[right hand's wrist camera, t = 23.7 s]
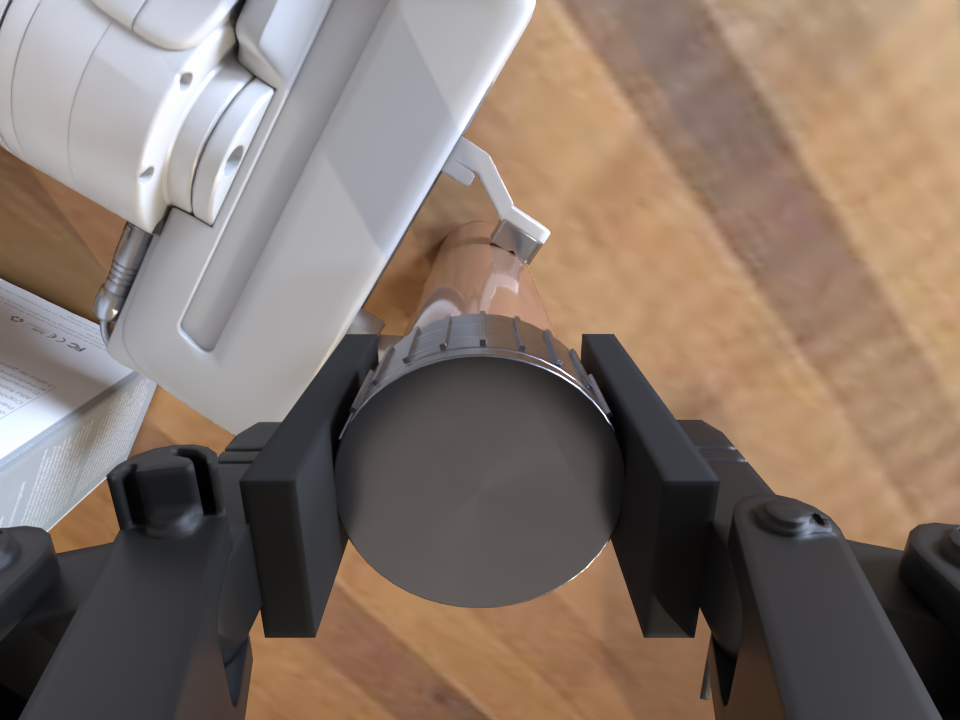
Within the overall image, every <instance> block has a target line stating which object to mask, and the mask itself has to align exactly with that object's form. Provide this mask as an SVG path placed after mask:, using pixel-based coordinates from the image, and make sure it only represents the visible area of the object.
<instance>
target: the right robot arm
mask: <svg viewBox="0 0 960 720" xmlns="http://www.w3.org/2000/svg"><path fill="white" fill-rule="evenodd" d="M581 363H582V365H583V367H584V369H585V371H586V373H587V374H588V375H590V374H592V375H593V377H594V379H595V381H596V383H597V385H598V387H599V389H600V391H601V393H602V395H603V397H604V399H605V401H606V403H607V405H608V407H609V409H610V411H611V413H612V415H613V417H611V418H609V420H610V422H611V424H612V426H613V428H614V430H615V432H616V435H617V437H618V439H619V442H620V444H621V448H622V452H623V455H624V459H625V467H626V474H625V486H624V496H623V505H622V513H621V516H620V519H619V522H618V524H617V527H616V529H615V531H614V533H613V535H612V536H611V541H612V544H613V546H614V549H615V552H616V555H617V558H618V561H619V564H620V567H621V570H622V573H623V576H624V579H625V582H626V585H627V588H628V591H629V594H630V597H631V600H632V603H633V606H634V609H635V612H636V615H637V618H638V621H639V624H640V627H641V630H642V633H643V636H644V638H694V637H695V631H696V625H697V619H698V613H699V607H700V609H701V611H702V613H703V615H704V617H705V619H706V621H707V623H708V625H709V627H710V630H711V637H710V643H709V648H708V654H707V660H706V665H705V671H704V676H703V682H702V688H701V695H700V699H705V700H708V699H709V693H710V688H711V690H712V697H713V705H714V712H715V719H716V720H960V525H951V524H942V523H929V524H922V525H918V526H917V527H915V528H914V529H913V530H911V531H910V533H909V537H908V540H907V543H906V546H905V549H904V551H901V550H896V549H891V548H886V547H881V546H875V545H870V544H865V543H860V542H855V541H851V540H847V539H845V537H844V535H843V533H842V532H841V530H840V528H839V527H838V526H837V525H836V524H835V522H834V521H833V520H832V519H831V518H830V517H829V516H827V515H826V514H824V513H823V512H821V511H820V510H818V509H817V508H815V507H813V506H811V505H809V504H806V503H804V502H801V501H799V500H796V499H793V498H788V497H784V496H779V495H775V493H774V492H773V491H772V490H771V489H770V488H769V486H768V485H767V484H766V483H765V482H764V481H763V479H762V478H761V477H760V476H759V475H758V474H757V472H756V471H755V470H754V469H753V468H752V467H751V465H750V464H749V463H748V462H745V458H744V457H743V456H742V455H741V454H740V453H739V451H738V450H735V449H734V446H733V444H732V443H731V442H730V441H729V440H728V439H727V437H726V436H725V435H724V434H723V433H722V432H721V431H719V430H717V429H716V428H714V427H712V426H710V425H709V424H707V423H705V422H703V421H702V420H676V419H675V418H674V417H673V415H672V414H671V412H670V411H669V410H668V408H667V407H666V406H665V404H664V403H663V401H662V400H661V399H660V397H659V396H658V395H657V393H656V392H655V390H654V389H653V388H652V386H651V385H650V383H649V382H648V381H647V379H646V378H645V377H644V375H643V374H642V372H641V371H640V370H639V368H638V367H637V366H636V364H635V363H634V361H633V360H632V359H631V357H630V356H629V355H628V353H627V352H626V350H625V349H624V348H623V346H622V345H621V344H620V342H619V341H618V339H617V338H616V337H615V335H614V334H582V348H581ZM378 364H379V357H378V342H377V334H345V336H344V337H343V339H342V340H341V341H340V343H339V344H338V345H337V347H336V348H335V350H334V351H333V352H332V354H331V355H330V356H329V358H328V359H327V361H326V362H325V363H324V365H323V366H322V367H321V369H320V370H319V372H318V373H317V374H316V376H315V377H314V378H313V380H312V381H311V383H310V384H309V385H308V387H307V388H306V389H305V391H304V392H303V394H302V395H301V396H300V398H299V399H298V401H297V402H296V403H295V405H294V406H293V407H292V409H291V410H290V412H289V413H288V414H287V416H286V417H285V418H284V420H283V421H282V422H258V423H256V424H254V425H253V426H251V427H249V428H248V429H246V430H244V431H242V432H241V433H239V434H237V436H236V437H235V438H234V439H233V440H232V441H231V443H230V444H229V445H228V446H227V447H226V448H225V452H222V453H221V454H220V456H219V457H218V458H217V454H216V453H215V452H214V451H212V450H211V449H210V448H208V447H203V446H199V445H172V446H167V447H161V448H156V449H152V450H149V451H146V452H144V453H141V454H138V455H135V456H133V457H131V458H129V459H127V460H125V461H124V462H122V463H120V464H118V465H117V466H116V467H114V468H113V469H112V470H111V471H110V472H109V473H108V474H107V475H106V477H107V480H108V484H109V488H110V492H111V496H112V500H113V504H114V507H115V511H116V515H117V519H118V523H119V527H120V531H119V533H118V534H117V536H116V538H115V540H114V542H111V543H108V544H104V545H98V546H93V547H88V548H83V549H78V550H73V551H67V552H62V553H57V554H56V552H55V549H54V546H53V542H52V539H51V536H50V534H49V533H47V532H46V531H45V530H44V529H42V528H39V527H32V526H17V527H8V528H0V720H245V713H246V706H247V699H248V691H249V684H250V677H251V670H252V663H253V657H252V649H251V643H250V637H249V631H250V629H251V627H252V625H253V623H254V621H255V619H256V617H257V615H258V612H259V610H261V616H262V622H263V628H264V634H265V638H315V637H316V634H317V631H318V628H319V625H320V622H321V619H322V616H323V613H324V610H325V607H326V604H327V601H328V598H329V595H330V592H331V589H332V586H333V583H334V580H335V577H336V574H337V571H338V568H339V565H340V563H341V560H342V557H343V554H344V551H345V548H346V545H347V542H348V539H349V538H348V536H347V534H346V532H345V530H344V528H343V526H342V524H341V521H340V518H339V515H338V511H337V502H336V493H335V482H334V462H335V456H336V452H337V449H338V446H339V437H340V435H341V433H342V430H343V428H344V426H345V424H346V422H347V420H348V418H349V416H350V414H351V412H350V411H349V410H350V408H351V406H352V404H353V402H354V400H355V398H356V396H357V394H358V392H359V390H360V388H361V386H362V384H363V382H364V380H365V378H366V376H367V374H368V372H369V370H370V369H371V370H373V371H374V370H375V368H376V367H377V365H378Z"/></svg>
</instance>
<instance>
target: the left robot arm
mask: <svg viewBox="0 0 960 720" xmlns="http://www.w3.org/2000/svg"><path fill="white" fill-rule="evenodd" d="M535 5H536V0H0V146H2V147H3V148H4V149H6V150H7V151H9V152H10V153H11V154H13V155H14V156H16V157H17V158H19V159H20V160H22V161H24V162H26V163H27V164H29V165H31V166H33V167H34V168H36V169H38V170H40V171H41V172H43V173H45V174H47V175H48V176H50V177H52V178H53V179H55V180H57V181H59V182H60V183H62V184H64V185H66V186H67V187H69V188H71V189H73V190H74V191H76V192H78V193H80V194H81V195H83V196H85V197H87V198H88V199H90V200H92V201H94V202H96V203H97V204H99V205H101V206H102V207H104V208H106V209H108V210H109V211H111V212H113V213H115V214H116V215H118V216H120V217H122V218H123V219H125V220H127V222H126V224H125V227H124V229H123V232H122V235H121V237H120V240H119V242H118V245H117V247H116V250H115V253H114V256H113V260H112V265H111V269H110V271H109V274H108V277H107V279H106V281H105V283H103V284H102V285H101V287H100V289H99V291H98V293H97V295H96V298H95V302H94V308H93V313H94V315H95V316H96V317H97V318H98V319H100V324H99V326H100V333H101V336H102V339H103V341H104V343H105V345H106V350H107V352H108V354H109V355H110V356H111V357H112V358H113V359H115V360H116V361H117V362H119V363H120V364H122V365H124V366H126V367H128V368H129V369H131V370H133V371H135V372H137V373H139V374H141V375H143V376H145V377H147V378H149V379H151V380H153V381H154V382H156V383H157V384H158V385H159V386H161V387H162V388H164V389H165V390H166V391H168V392H169V393H170V394H172V395H173V396H174V397H176V398H177V399H179V400H180V401H181V402H183V403H184V404H186V405H187V406H189V407H190V408H192V409H193V410H195V411H196V412H198V413H199V414H201V415H202V416H204V417H205V418H207V419H208V420H210V421H212V422H213V423H215V424H216V425H218V426H220V427H221V428H223V429H225V430H226V431H228V432H230V433H231V434H233V435H235V436H237V434H239V433H241V432H242V431H244V430H246V429H248V428H249V427H251V426H253V425H254V424H256V423H258V422H282V421H283V420H284V418H285V417H286V416H287V414H288V413H289V412H290V410H291V409H292V407H293V406H294V405H295V403H296V402H297V401H298V399H299V398H300V396H301V395H302V394H303V392H304V391H305V389H306V388H307V387H308V385H309V384H310V383H311V381H312V380H313V378H314V377H315V376H316V374H317V373H318V372H319V370H320V369H321V367H322V366H323V365H324V363H325V362H326V361H327V359H328V358H329V356H330V355H331V354H332V352H333V351H334V350H335V348H336V347H337V345H338V344H339V343H340V341H341V340H342V339H343V337H344V336H345V334H377V342H378V357H379V363H380V361H381V360H382V358H383V356H384V353H385V351H386V349H387V347H389V346H390V345H391V346H393V347H394V346H395V345H396V344H397V343H398V342H400V341H401V340H402V338H403V336H394V335H380V333H381V331H382V329H383V327H384V326H385V324H384V321H382V320H380V319H379V318H377V317H375V316H374V315H372V314H370V313H369V312H367V311H365V310H364V309H363V307H364V306H365V304H366V302H367V301H368V299H369V297H370V295H371V294H372V292H373V290H374V289H375V287H376V285H377V283H378V282H379V280H380V278H381V277H382V275H383V273H384V271H385V270H386V268H387V266H388V264H389V263H390V261H391V259H392V258H393V256H394V254H395V252H396V251H397V249H398V247H399V246H400V244H401V242H402V240H403V239H404V237H405V235H406V233H407V232H408V230H409V228H410V227H411V225H412V223H413V221H414V220H415V218H416V216H417V215H418V213H419V211H420V209H421V208H422V206H423V204H424V203H425V201H426V199H427V197H428V196H429V194H430V192H431V190H432V189H433V187H434V185H435V184H436V182H437V180H438V178H439V177H440V175H441V173H442V172H443V173H445V174H447V175H448V176H450V177H451V178H453V179H454V180H456V181H457V182H459V183H461V184H462V185H464V186H465V187H466V186H469V185H470V184H471V182H472V181H473V179H474V177H475V173H476V174H478V176H479V178H480V180H481V182H482V184H483V186H484V188H485V190H486V192H487V194H488V196H489V198H490V200H491V202H492V204H493V206H494V208H495V210H496V212H497V214H498V216H499V218H500V220H499V222H498V223H497V225H496V227H495V228H494V230H493V232H492V233H491V235H490V236H491V242H493V243H494V244H496V245H497V246H499V247H501V248H502V249H504V250H506V251H513V252H514V254H515V256H516V257H517V258H518V259H519V260H521V261H522V262H524V263H526V264H528V265H529V264H530V263H531V261H532V260H533V258H534V257H535V256H536V254H537V253H538V251H539V250H540V248H541V247H542V245H543V244H544V242H545V241H546V239H547V238H548V236H549V235H550V231H549V230H548V229H547V228H545V227H544V226H543V225H541V224H540V223H539V222H537V221H536V220H534V219H533V218H531V217H530V216H528V215H527V214H525V213H524V212H522V211H521V210H519V209H518V208H516V207H515V206H513V205H514V204H513V202H512V200H511V198H510V196H509V194H508V192H507V190H506V188H505V186H504V184H503V182H502V180H501V178H500V175H499V173H498V171H497V169H496V167H495V165H494V163H493V161H492V159H491V157H490V155H489V154H488V153H486V152H485V151H483V150H482V149H480V148H479V147H477V146H476V145H474V144H473V143H472V142H470V141H469V140H467V139H466V138H464V137H463V135H464V134H465V132H466V130H467V129H468V127H469V125H470V123H471V122H472V120H473V118H474V116H475V115H476V113H477V111H478V110H479V108H480V106H481V104H482V103H483V101H484V99H485V98H486V96H487V94H488V92H489V91H490V89H491V87H492V85H493V84H494V82H495V80H496V79H497V77H498V75H499V73H500V72H501V70H502V68H503V67H504V65H505V63H506V61H507V60H508V58H509V56H510V55H511V53H512V51H513V49H514V48H515V46H516V44H517V42H518V41H519V39H520V37H521V36H522V34H523V32H524V30H525V29H526V27H527V25H528V23H529V21H530V19H531V17H532V15H533V12H534V8H535ZM113 322H116V324H115V327H114V329H113V331H112V329H111V323H113Z"/></svg>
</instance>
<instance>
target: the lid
mask: <svg viewBox="0 0 960 720" xmlns="http://www.w3.org/2000/svg"><path fill="white" fill-rule="evenodd" d="M349 411H350V412H351V414H350V416H349V418H348V420H347V422H346V424H345V426H344V428H343V430H342V433H341V435H340V437H339V446H338V449H337V452H336V456H335V462H334V482H335V493H336V502H337V511H338V515H339V518H340V521H341V524H342V526H343V528H344V530H345V532H346V534H347V536H348V538H349V539H350V541H351V542H352V544H353V546H354V547H355V549H356V550H357V551H358V553H359V554H360V555H361V556H362V557H363V558H364V559H365V561H366V562H367V563H368V564H369V565H370V566H371V567H373V568H374V569H375V570H376V571H377V572H378V573H379V574H380V575H382V576H383V577H385V578H386V579H387V580H389V581H390V582H392V583H393V584H395V585H396V586H398V587H400V588H402V589H404V590H406V591H408V592H409V593H412V594H414V595H417V596H419V597H422V598H424V599H427V600H431V601H434V602H438V603H441V604H446V605H452V606H458V607H470V608H490V607H501V606H508V605H513V604H518V603H522V602H526V601H529V600H532V599H535V598H538V597H540V596H543V595H546V594H548V593H550V592H552V591H554V590H556V589H558V588H560V587H561V586H563V585H564V584H566V583H568V582H569V581H571V580H572V579H574V578H575V577H576V576H578V575H579V574H580V573H581V572H582V571H584V570H585V569H586V568H587V567H588V566H589V565H590V564H591V563H592V562H593V561H594V560H595V559H596V558H597V557H598V556H599V554H600V553H601V552H602V550H603V549H604V547H605V546H606V545H607V543H608V542H609V540H610V538H611V536H612V535H613V533H614V531H615V529H616V527H617V524H618V522H619V519H620V516H621V513H622V505H623V496H624V486H625V474H626V467H625V459H624V455H623V452H622V448H621V444H620V442H619V439H618V437H617V435H616V432H615V430H614V428H613V426H612V424H611V422H610V420H609V418H611V417H613V415H612V413H611V411H610V409H609V407H608V405H607V403H606V401H605V399H604V397H603V395H602V393H601V391H600V389H599V387H598V385H597V383H596V381H595V379H594V377H593V375H592V374H590V375H588V374H587V373H586V371H585V369H584V367H583V365H582V363H581V361H580V359H579V357H578V355H577V353H576V351H575V350H574V349H571V350H569V349H568V348H567V347H566V346H565V345H563V344H562V343H561V342H560V341H559V340H558V339H556V338H555V337H553V335H552V333H551V331H550V330H548V329H546V330H545V331H544V330H542V329H540V328H538V327H536V326H534V325H532V324H530V323H527V322H524V321H521V320H520V317H518V316H514V318H511V317H506V316H502V315H494V314H486V313H485V311H480V314H464V315H458V316H453V317H451V314H449V315H445V319H441V320H438V321H435V322H432V323H430V324H428V325H425V326H423V327H421V328H419V326H416V327H415V328H413V331H412V333H411V334H409V335H407V336H406V337H404V338H403V339H402V340H401V341H400V342H398V343H397V344H396V345H395V346H394V347H393V346H391V345H390V346H389V347H387V349H386V351H385V353H384V356H383V358H382V360H381V361H380V363H379V364H378V365H377V367H376V368H375V370H374V371H373V370H371V369H370V370H369V372H368V374H367V376H366V378H365V380H364V382H363V384H362V386H361V388H360V390H359V392H358V394H357V396H356V398H355V400H354V402H353V404H352V406H351V408H350V410H349Z"/></svg>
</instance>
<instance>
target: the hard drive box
mask: <svg viewBox="0 0 960 720" xmlns="http://www.w3.org/2000/svg"><path fill="white" fill-rule="evenodd" d="M156 386H157V383H156V382H154V381H153V380H151V379H149V378H147V377H145V376H143V375H141V374H139V373H137V372H135V371H133V370H131V369H129V368H128V367H126V366H124V365H122V364H120V363H119V362H117V361H116V360H115V359H113V358H112V357H111V356H110V355H109V354H108V352H107V350H106V345H105V343H104V341H103V339H102V336H101V333H100V326H99V325H98V324H96V323H94V322H92V321H89V320H87V319H85V318H83V317H80V316H78V315H75V314H73V313H71V312H69V311H67V310H65V309H63V308H61V307H59V306H57V305H55V304H52V303H50V302H48V301H46V300H44V299H42V298H40V297H38V296H36V295H34V294H32V293H30V292H28V291H26V290H24V289H21V288H19V287H17V286H15V285H13V284H11V283H9V282H7V281H4V280H2V279H0V528H8V527H17V526H32V527H39V528H42V529H44V530H45V531H46V532H48V531H49V530H50V529H51V528H52V527H53V526H55V525H56V524H57V523H58V522H59V521H60V520H61V519H62V518H63V517H64V516H65V515H66V514H68V513H69V512H70V511H71V510H72V509H73V508H74V507H75V506H76V505H77V504H78V503H80V502H81V501H82V500H83V499H84V498H85V497H86V496H87V495H88V494H89V493H91V492H92V491H93V490H94V489H95V488H96V487H97V486H98V485H99V484H101V483H102V482H103V481H104V480H105V479H106V478H107V477H106V475H107V474H108V473H109V472H110V471H111V470H112V469H113V468H114V467H116V466H117V465H118V464H120V463H122V462H124V461H125V460H127V458H128V455H129V453H130V451H131V448H132V446H133V443H134V441H135V438H136V436H137V434H138V431H139V429H140V426H141V424H142V421H143V419H144V416H145V414H146V411H147V409H148V406H149V404H150V401H151V399H152V396H153V394H154V391H155V389H156Z"/></svg>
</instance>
